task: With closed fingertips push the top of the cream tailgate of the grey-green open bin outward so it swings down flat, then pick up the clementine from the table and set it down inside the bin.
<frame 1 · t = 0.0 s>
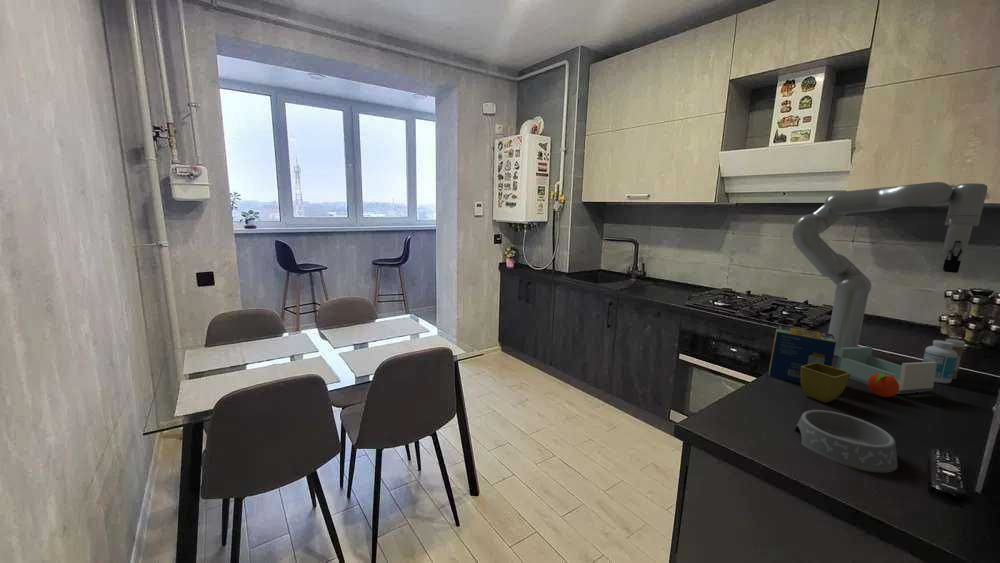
hand: (949, 271, 138), 37 cm above the worktop, tool pointing down, fingers open, 9 cm apart
clementine: (879, 396, 121), on the worktop
dog bowl: (841, 448, 91), on the worktop
protein box: (796, 378, 132), on the worktop
grey-green open bin: (878, 382, 132), on the worktop
tailgate: (917, 377, 122), point 6 cm above the worktop, hinge at -4.0°
sprinkles bottle: (946, 377, 140), on the worktop
pill bottle: (934, 380, 137), on the worktop
flower pot: (819, 399, 117), on the worktop
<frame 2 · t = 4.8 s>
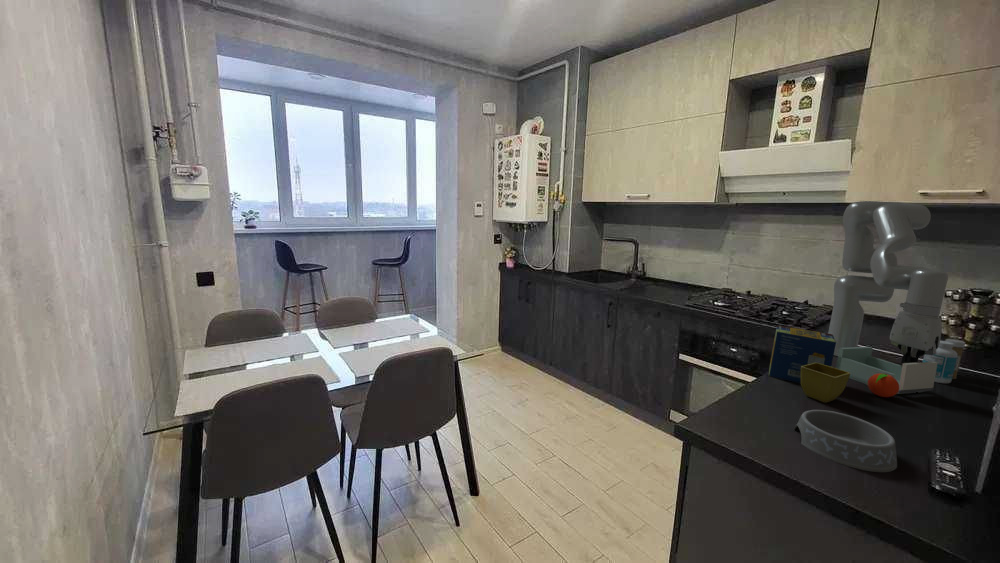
hand: (908, 367, 124), 8 cm above the worktop, tool pointing down, fingers closed
tailgate: (917, 377, 122), point 6 cm above the worktop, hinge at -2.9°, touching gripper
everything else where it was.
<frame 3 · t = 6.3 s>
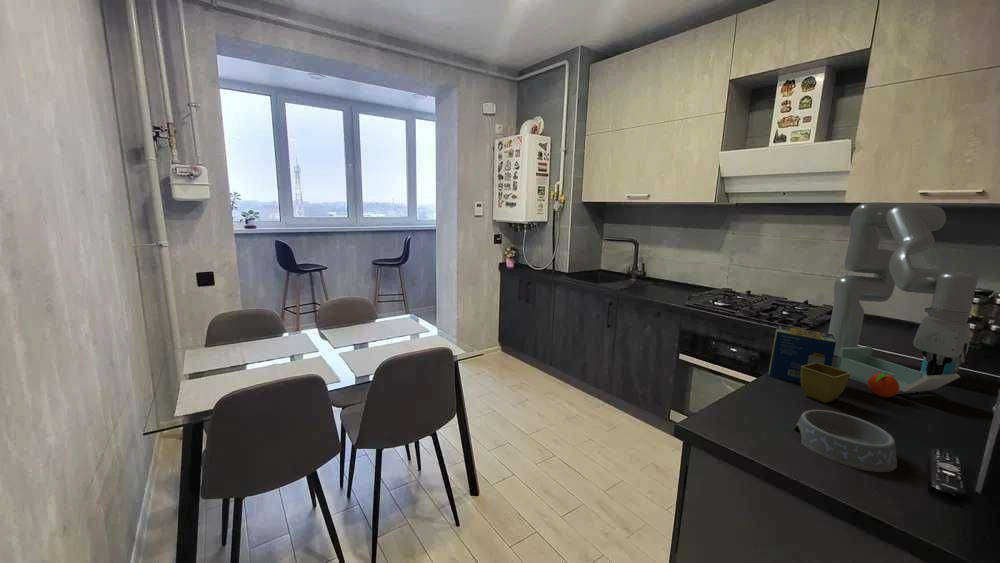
hand: (933, 375, 118), 8 cm above the worktop, tool pointing down, fingers closed
tailgate: (928, 383, 119), point 5 cm above the worktop, hinge at 38.2°
everything else where it was.
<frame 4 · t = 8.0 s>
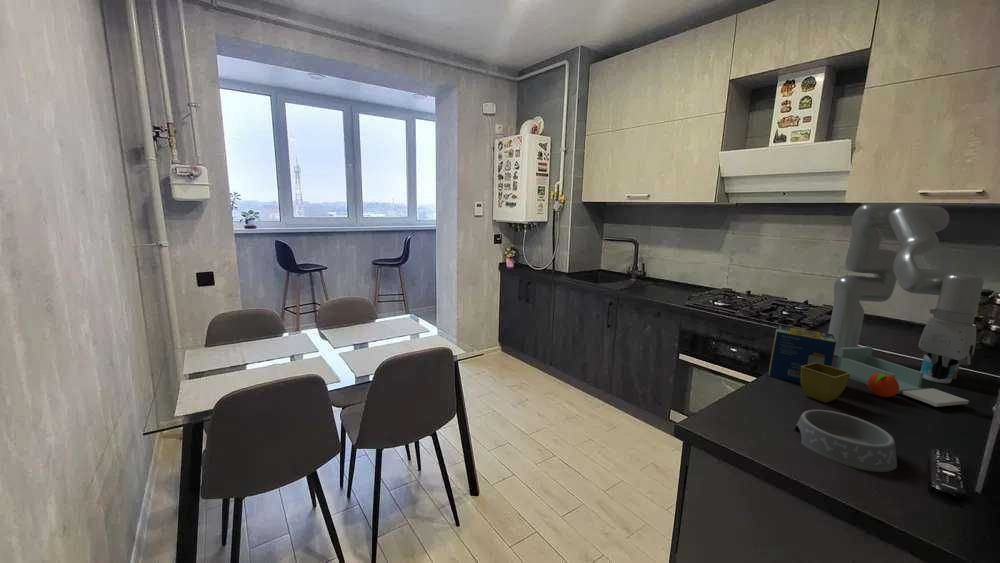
hand: (938, 377, 117), 8 cm above the worktop, tool pointing down, fingers closed
tailgate: (932, 396, 118), point 2 cm above the worktop, hinge at 90.3°
everything else where it was.
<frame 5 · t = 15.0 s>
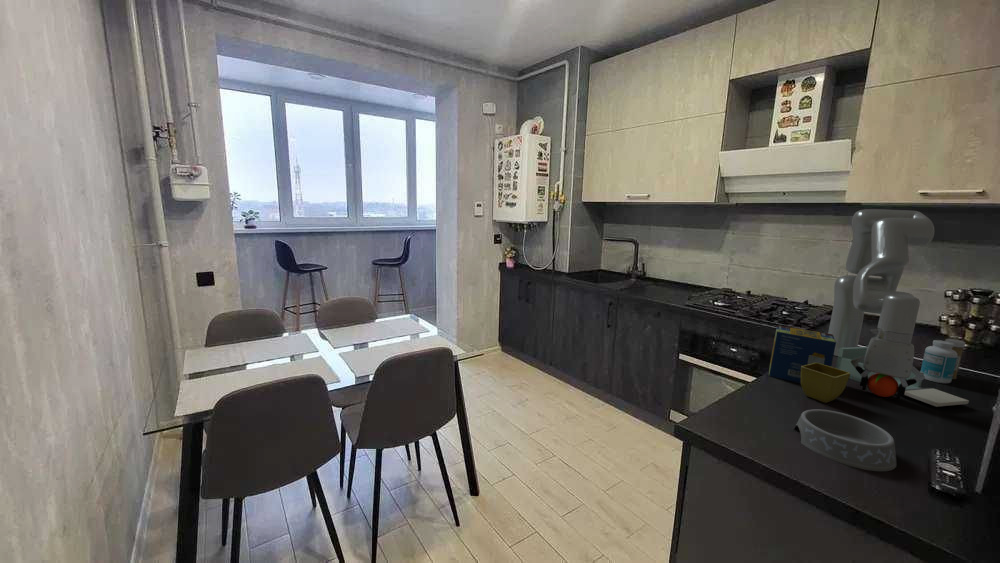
hand: (880, 392, 120), 1 cm above the worktop, tool pointing down, fingers closed on clementine, 7 cm apart
clementine: (879, 396, 121), on the worktop, touching gripper
everything else where it was.
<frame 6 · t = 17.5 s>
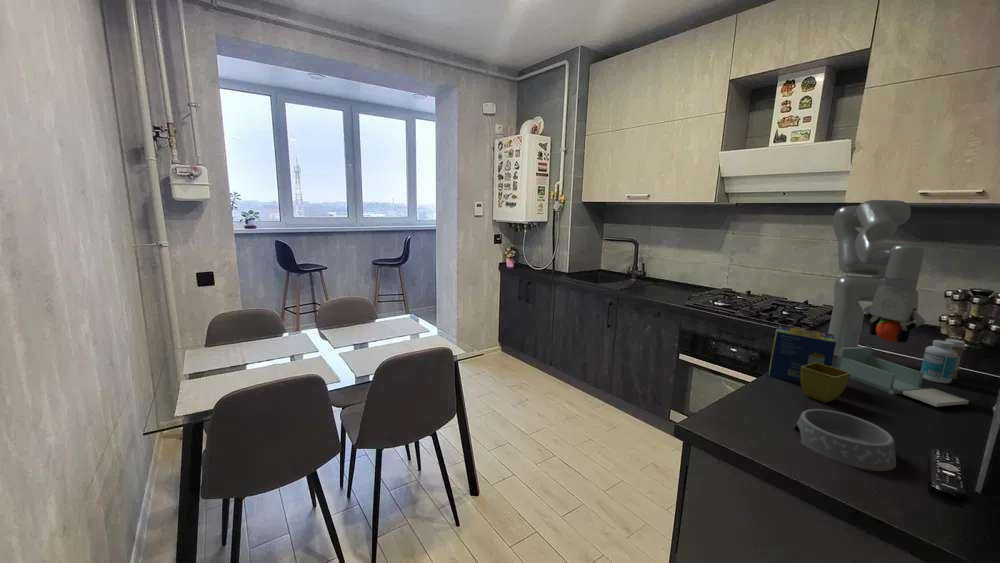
hand: (887, 337, 129), 15 cm above the worktop, tool pointing down, fingers closed on clementine, 7 cm apart
clementine: (886, 341, 130), point 14 cm above the worktop, touching gripper
everything else where it was.
when the fingers open (4 cm above the worktop, at t = 20.0 s): clementine drops 2 cm, resting on grey-green open bin.
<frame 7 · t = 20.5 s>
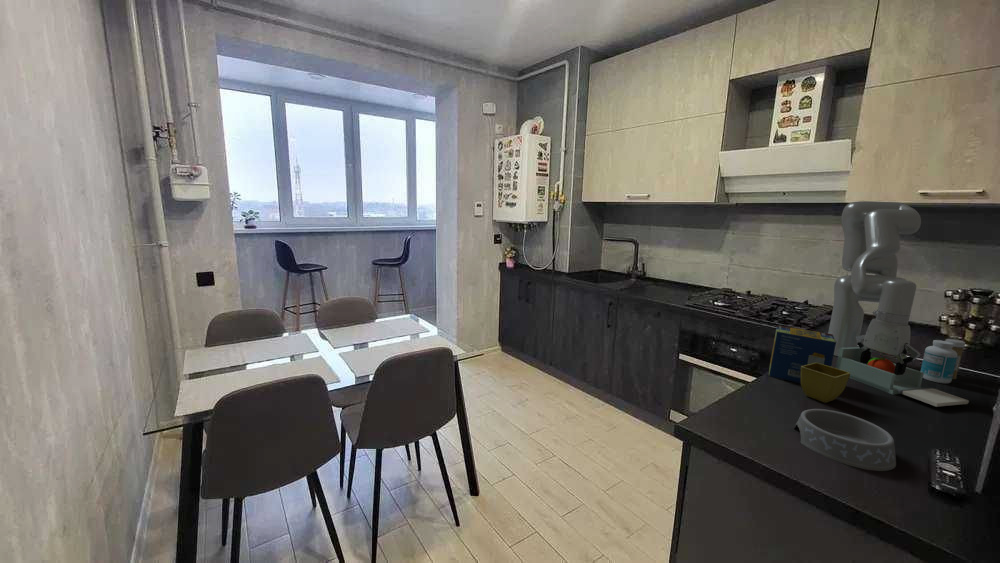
hand: (880, 368, 131), 5 cm above the worktop, tool pointing down, fingers open, 9 cm apart
clementine: (877, 378, 132), point 1 cm above the worktop, touching grey-green open bin
everything else where it was.
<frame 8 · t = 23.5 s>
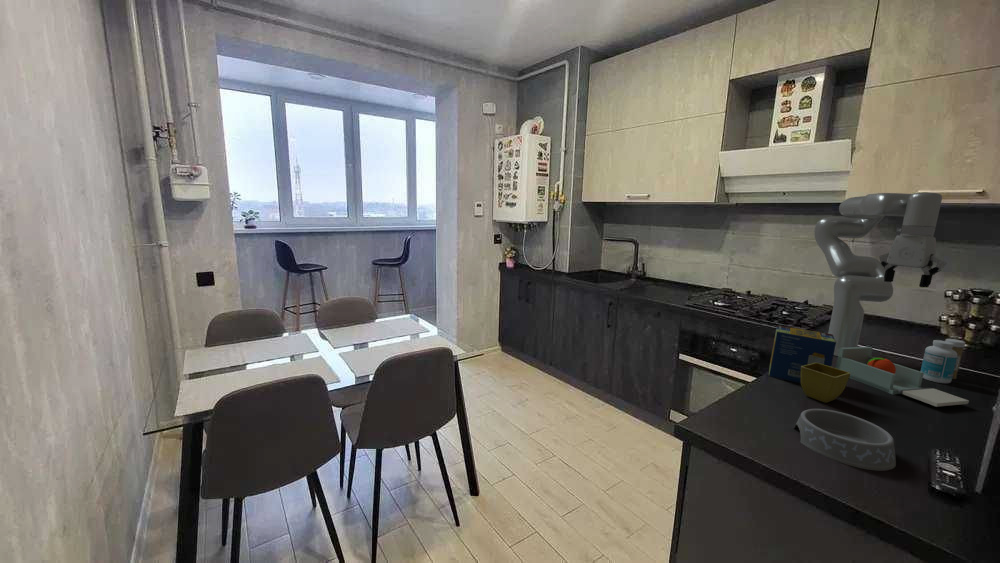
hand: (905, 284, 132), 32 cm above the worktop, tool pointing down, fingers open, 9 cm apart
nothing on the worktop moved.
at the end: tailgate at +90° (first picture: -4°); clementine 0.7 cm from the grey-green open bin (horizontally); clementine point 1.0 cm above the worktop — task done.
